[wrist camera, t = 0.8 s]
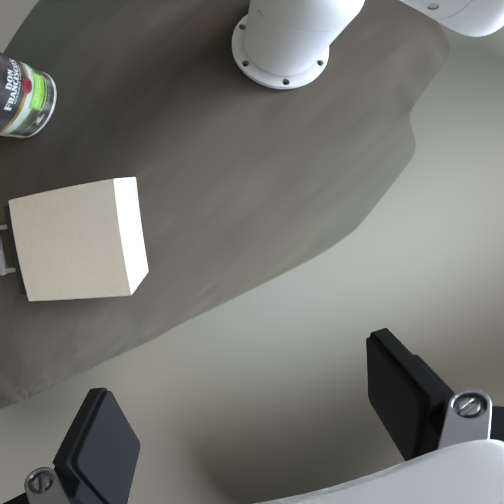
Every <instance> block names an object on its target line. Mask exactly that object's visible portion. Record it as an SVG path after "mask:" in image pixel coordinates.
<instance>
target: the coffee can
mask: <svg viewBox="0 0 504 504" xmlns="http://www.w3.org/2000/svg"><path fill="white" fill-rule="evenodd" d="M56 98H57V92H56V86H55V83H54V81H53V79H52V78H51V77H50V75H48V74H47V73H44V72H41V71H39V70H37V69H35V68H33V67H31V66H28V65H26V64H24V63H22V62H20V61H18V60H15V59H13V58H11V57H9V56H7V55H4V54H2V53H0V136H10V137H18V138H29V137H31V136H33V135H35V134H36V133H38V132H39V131H40V130H41V129H42V128H43V127H44V126H45V125H46V124H47V122H48V121H49V119H50V117H51V115H52V113H53V111H54V108H55V104H56Z"/></svg>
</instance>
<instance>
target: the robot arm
mask: <svg viewBox="0 0 504 504" xmlns="http://www.w3.org/2000/svg"><path fill="white" fill-rule="evenodd" d="M364 1H365V0H250V5H249V11H248V14H247V15H245V16H244V17H243V18H242V19H241V20H240V21H239V23H238V24H237V26H236V28H235V29H234V32H233V36H232V53H233V56H234V59H235V61H236V63H237V65H238V67H239V68H240V69H241V70H242V71H243V73H244V74H245V75H247V76H248V77H249V78H250V79H252V80H253V81H255V82H257V83H259V84H261V85H264V86H266V87H269V88H275V89H293V88H298V87H301V86H304V85H306V84H308V83H310V82H312V81H313V80H314V79H315V78H316V77H318V76H319V74H320V73H321V72H322V71H323V69H324V68H325V66H326V64H327V61H328V57H329V45H330V44H331V43H332V41H333V40H334V39H335V38H336V37H337V36H338V35H339V34H340V33H341V31H342V30H343V29H344V28H345V27H346V26H347V25H348V24H349V23H350V22H351V21H352V19H353V18H354V17H355V16H356V15H357V14H358V12H359V11H360V9H361V8H362V6H363V3H364ZM400 1H401V2H403V3H405V4H407V5H409V6H411V7H413V8H415V9H416V10H418V11H420V12H422V13H424V14H425V15H427V16H429V17H430V18H432V19H434V20H436V21H437V22H439V23H441V24H443V25H444V26H446V27H448V28H450V29H452V30H454V31H456V32H458V33H461V34H463V35H467V36H485V35H488V34H491V33H493V32H495V31H497V30H498V29H500V28H501V27H502V26H504V0H400ZM241 28H243V30H242V29H241ZM317 63H319V64H320V66H319V65H318V64H317ZM244 64H247V66H246V67H245V66H243V65H244ZM283 82H286V85H284V84H283ZM366 347H367V369H368V397H369V400H370V403H371V405H372V406H373V408H374V410H375V411H376V413H377V415H378V416H379V417H380V420H381V421H382V423H383V425H384V426H385V428H386V430H387V431H388V432H389V435H390V436H391V438H392V439H393V441H394V443H395V444H396V446H397V448H398V449H399V451H400V453H401V455H402V456H403V458H404V460H405V461H406V462H403V463H400V464H398V465H395V466H393V467H390V468H387V469H385V470H382V471H379V472H376V473H374V474H370V475H367V476H364V477H361V478H358V479H355V480H352V481H349V482H346V483H343V484H339V485H336V486H332V487H329V488H325V489H321V490H317V491H314V492H309V493H306V494H301V495H297V496H292V497H288V498H283V499H277V500H273V501H267V502H261V503H255V504H504V407H500V406H492V402H491V399H490V397H489V396H488V395H487V394H486V393H485V392H483V391H480V390H477V389H465V390H462V391H459V392H457V393H454V392H453V391H452V390H451V389H450V388H449V387H448V386H447V385H446V383H445V382H443V380H442V379H441V378H440V377H439V376H438V375H437V374H436V373H435V372H434V371H433V370H432V369H431V368H430V367H429V366H428V365H427V364H426V363H425V362H424V361H423V360H422V359H421V358H420V357H419V356H418V355H412V353H411V352H410V351H408V349H407V348H406V347H405V346H404V345H403V344H402V343H401V342H400V341H399V340H398V339H397V338H396V337H395V336H394V335H393V334H392V333H391V332H390V331H389V330H388V329H387V328H384V329H381V330H378V331H375V332H372V333H371V335H370V337H369V338H367V339H366ZM139 450H140V443H139V440H138V438H137V436H136V435H135V433H134V431H133V430H132V428H131V426H130V424H129V423H128V421H127V419H126V417H125V416H124V414H123V412H122V410H121V409H120V407H119V405H118V403H117V401H116V399H115V397H114V396H113V394H112V392H111V391H108V390H107V389H106V388H94V389H90V391H89V392H88V394H87V396H86V398H85V400H84V402H83V404H82V405H81V407H80V409H79V411H78V413H77V415H76V417H75V419H74V420H73V422H72V425H71V426H70V428H69V430H68V432H67V434H66V436H65V438H64V440H63V442H62V444H61V446H60V448H59V450H58V452H57V454H56V456H55V459H54V460H53V464H54V465H55V468H54V470H53V469H51V468H48V467H41V468H38V469H36V470H34V471H32V472H31V473H30V474H29V475H28V477H27V478H26V480H25V484H24V486H25V491H26V492H25V493H23V494H21V495H19V496H17V497H16V498H13V499H12V500H10V501H7V502H5V503H3V504H127V502H128V497H129V493H130V488H131V484H132V480H133V475H134V471H135V467H136V463H137V459H138V455H139Z"/></svg>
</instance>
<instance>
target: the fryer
mask: <svg viewBox="0 0 504 504" xmlns="http://www.w3.org/2000/svg"><path fill="white" fill-rule="evenodd" d="M9 207H10V215H11V221H12V227H13V233H14V239H15V244H16V249H17V254H18V259H19V264H20V268H21V272H22V277H23V281H24V285H25V288H26V292H27V296H28V299H29V301H45V300H65V299H83V298H99V297H115V296H129V295H132V294H133V292H134V291H135V290H136V288H137V287H138V285H139V284H140V283H141V281H142V280H143V279H144V277H145V276H146V274H147V273H148V265H147V259H146V253H145V247H144V240H143V233H142V226H141V218H140V210H139V202H138V194H137V184H136V177H126V178H116V179H109V180H103V181H97V182H92V183H86V184H81V185H76V186H71V187H66V188H61V189H56V190H51V191H46V192H42V193H37V194H33V195H29V196H24V197H20V198H16V199H12V200H9Z"/></svg>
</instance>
